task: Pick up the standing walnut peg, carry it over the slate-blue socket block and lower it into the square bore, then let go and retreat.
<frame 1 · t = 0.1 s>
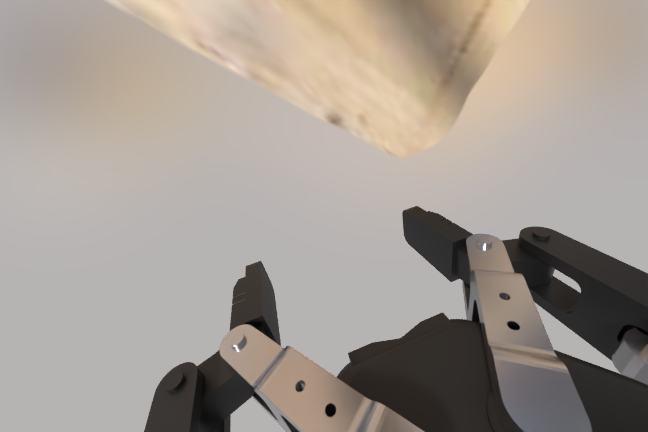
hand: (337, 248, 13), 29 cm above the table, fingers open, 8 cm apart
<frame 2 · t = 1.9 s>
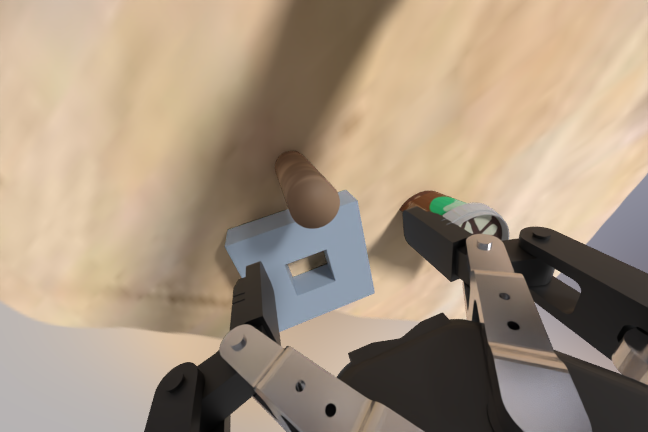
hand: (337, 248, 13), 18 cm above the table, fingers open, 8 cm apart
walnut peg: (291, 167, 29), on the table
food container: (430, 203, 37), on the table
socket block: (305, 256, 35), on the table
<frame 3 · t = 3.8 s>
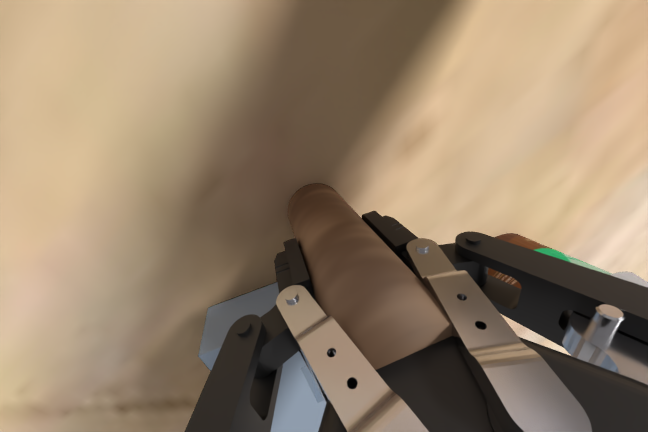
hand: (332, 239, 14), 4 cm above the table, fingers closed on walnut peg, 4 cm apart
walnut peg: (315, 210, 17), on the table, touching gripper
food container: (507, 249, 26), on the table
socket block: (327, 331, 23), on the table
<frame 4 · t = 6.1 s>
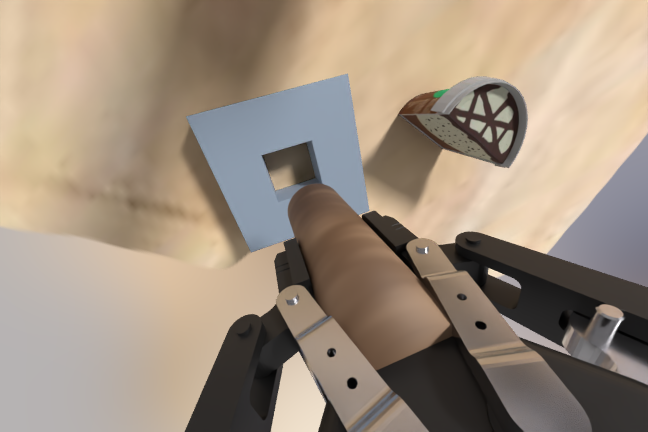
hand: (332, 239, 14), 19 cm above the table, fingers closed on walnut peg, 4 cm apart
walnut peg: (315, 210, 17), point 15 cm above the table, touching gripper
food container: (433, 111, 33), on the table
socket block: (289, 164, 30), on the table
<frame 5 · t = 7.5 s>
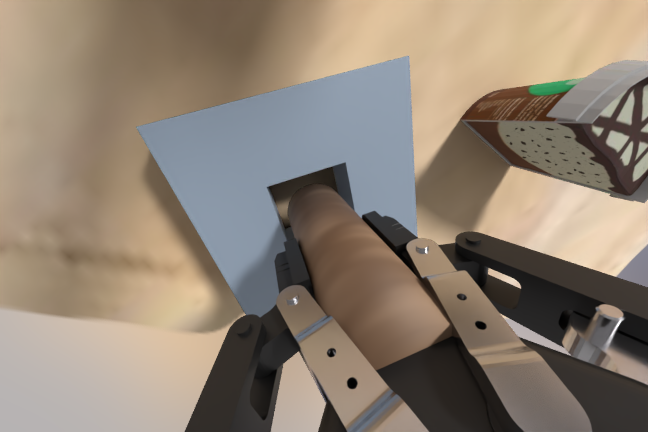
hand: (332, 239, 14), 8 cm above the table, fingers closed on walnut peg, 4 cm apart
walnut peg: (315, 210, 17), point 4 cm above the table, touching gripper
food container: (506, 115, 23), on the table
socket block: (305, 192, 21), on the table
when the fingers open (6 cm above the table, at t = 8.6 s): walnut peg drops 2 cm, resting in socket block.
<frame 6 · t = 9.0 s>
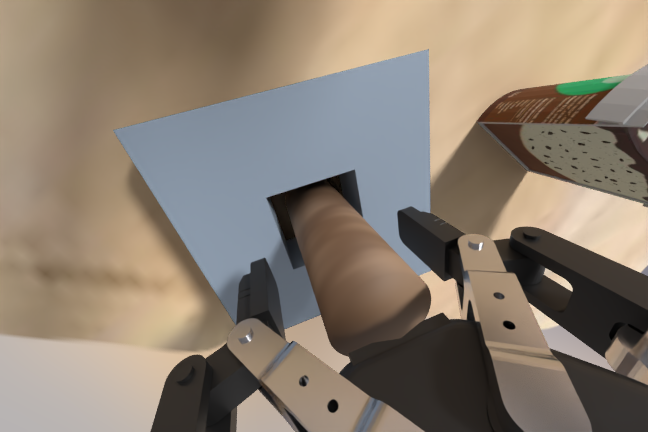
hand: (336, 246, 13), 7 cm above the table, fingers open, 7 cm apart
walnut peg: (310, 199, 19), resting in socket block
food container: (525, 117, 22), on the table
socket block: (309, 200, 19), on the table
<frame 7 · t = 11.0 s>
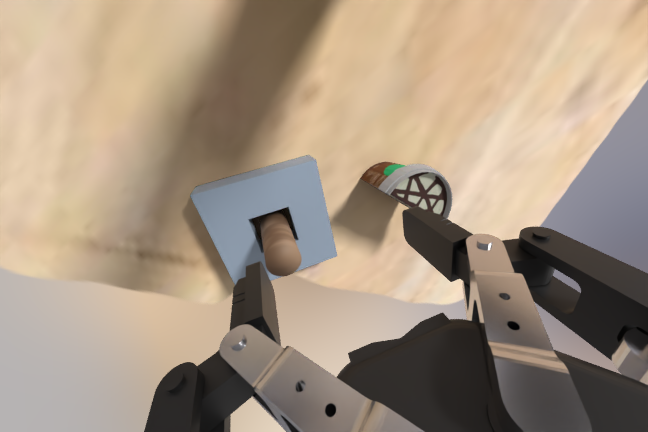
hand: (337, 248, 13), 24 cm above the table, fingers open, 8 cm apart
walnut peg: (272, 218, 37), resting in socket block
food container: (389, 174, 41), on the table
socket block: (271, 219, 37), on the table
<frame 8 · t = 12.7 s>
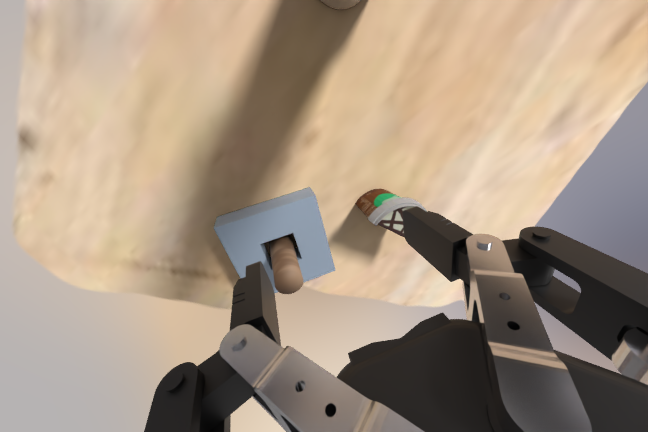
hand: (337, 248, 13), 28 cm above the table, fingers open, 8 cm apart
walnut peg: (280, 239, 44), resting in socket block
food container: (381, 199, 46), on the table
socket block: (279, 239, 44), on the table
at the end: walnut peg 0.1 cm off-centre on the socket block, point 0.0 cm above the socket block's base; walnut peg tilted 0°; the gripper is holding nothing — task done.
